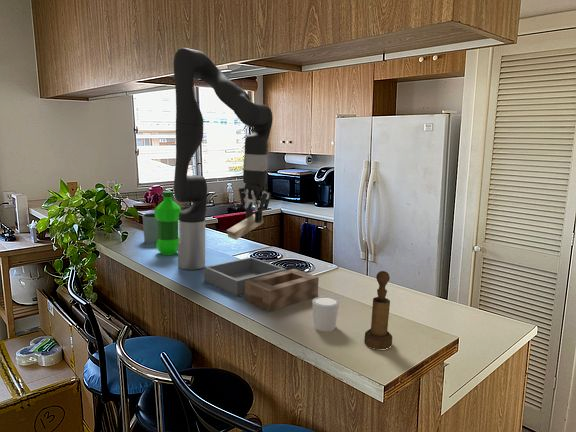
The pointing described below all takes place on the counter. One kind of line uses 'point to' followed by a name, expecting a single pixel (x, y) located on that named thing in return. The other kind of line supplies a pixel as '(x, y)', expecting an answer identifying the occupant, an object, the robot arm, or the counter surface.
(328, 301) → the white cup
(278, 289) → the walnut pocket board
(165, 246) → the plastic bottle
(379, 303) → the brown wooden tall figure
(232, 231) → the maple bar
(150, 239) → the drinking glass
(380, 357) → the counter surface
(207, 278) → the charcoal tray
